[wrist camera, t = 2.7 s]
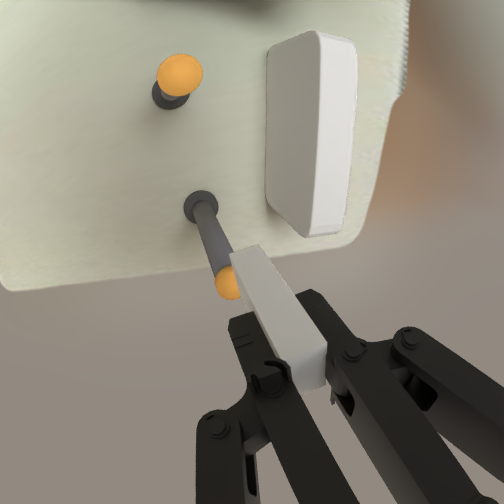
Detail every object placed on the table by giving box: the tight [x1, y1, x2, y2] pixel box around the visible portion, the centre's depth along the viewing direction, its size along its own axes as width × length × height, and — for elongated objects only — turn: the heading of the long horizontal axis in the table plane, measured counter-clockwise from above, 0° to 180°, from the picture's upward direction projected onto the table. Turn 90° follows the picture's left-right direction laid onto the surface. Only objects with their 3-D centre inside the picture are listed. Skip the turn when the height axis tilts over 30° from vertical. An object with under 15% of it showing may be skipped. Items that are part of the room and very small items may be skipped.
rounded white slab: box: [265, 31, 358, 238], centre depth 39 cm, size 29×8×18 cm, turn 179°
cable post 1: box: [152, 54, 203, 109], centre depth 28 cm, size 6×6×24 cm
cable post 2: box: [184, 190, 240, 300], centre depth 40 cm, size 6×6×24 cm
